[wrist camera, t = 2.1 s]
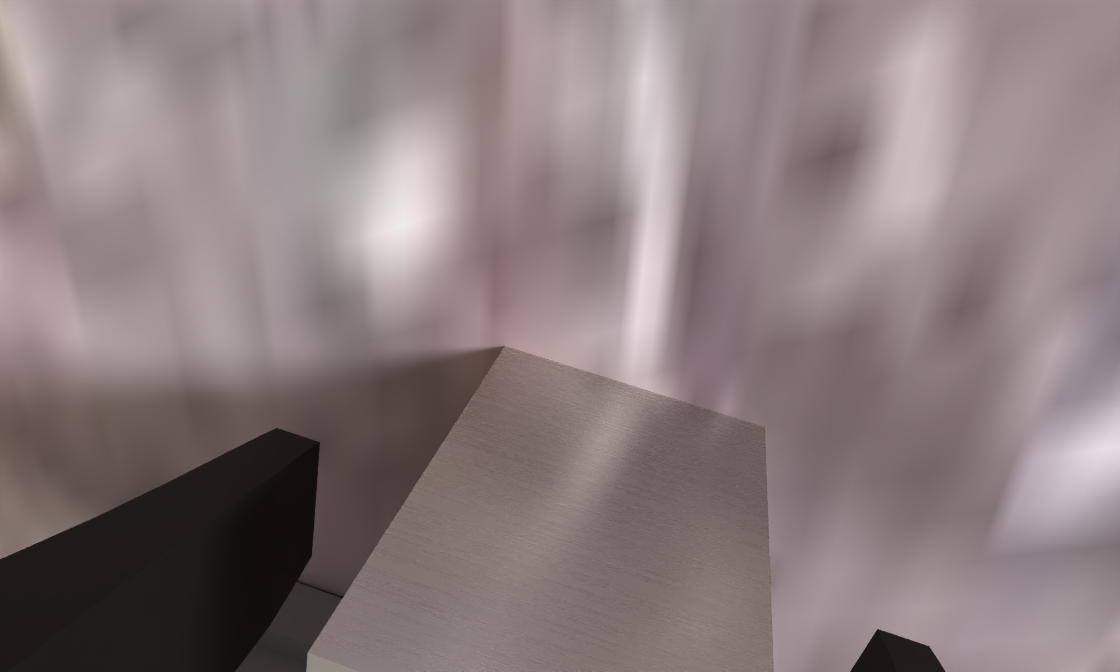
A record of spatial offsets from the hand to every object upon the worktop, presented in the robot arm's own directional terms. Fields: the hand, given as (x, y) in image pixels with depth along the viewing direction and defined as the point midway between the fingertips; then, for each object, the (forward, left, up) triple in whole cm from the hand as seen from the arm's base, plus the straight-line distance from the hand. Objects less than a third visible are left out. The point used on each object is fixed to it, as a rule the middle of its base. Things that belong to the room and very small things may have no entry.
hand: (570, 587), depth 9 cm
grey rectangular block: (0, 0, -2) cm, 2 cm away
